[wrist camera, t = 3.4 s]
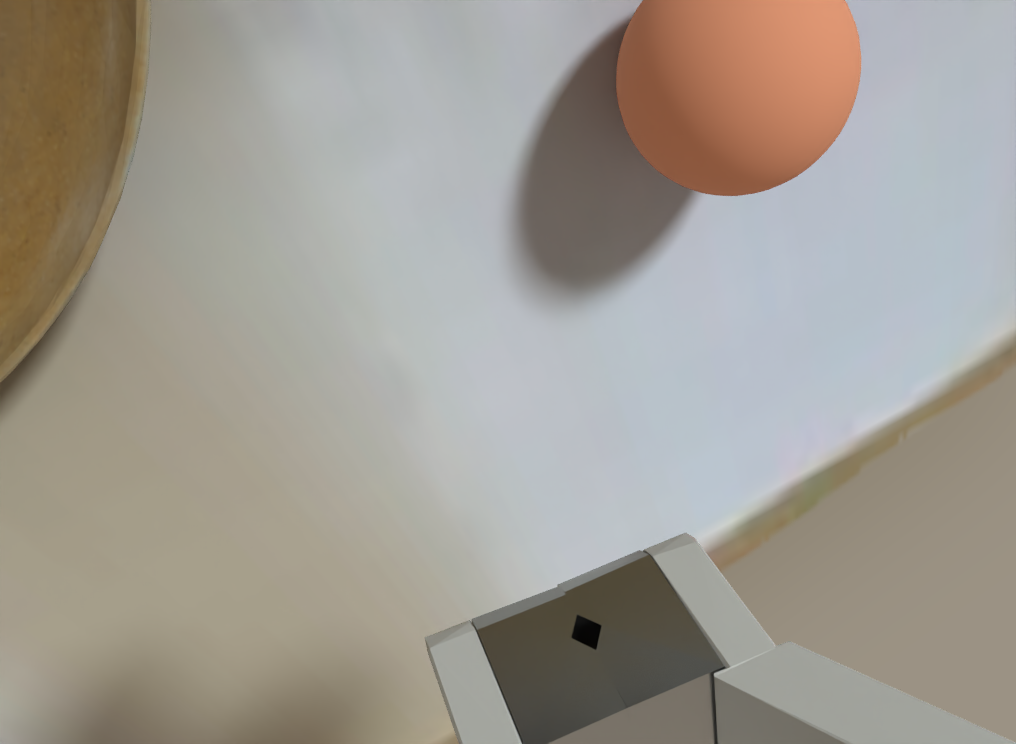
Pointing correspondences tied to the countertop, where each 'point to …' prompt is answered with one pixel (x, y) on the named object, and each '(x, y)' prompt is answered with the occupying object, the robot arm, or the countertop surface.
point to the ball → (737, 88)
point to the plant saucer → (62, 149)
